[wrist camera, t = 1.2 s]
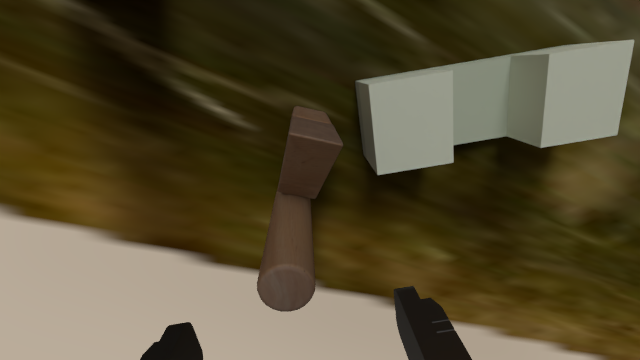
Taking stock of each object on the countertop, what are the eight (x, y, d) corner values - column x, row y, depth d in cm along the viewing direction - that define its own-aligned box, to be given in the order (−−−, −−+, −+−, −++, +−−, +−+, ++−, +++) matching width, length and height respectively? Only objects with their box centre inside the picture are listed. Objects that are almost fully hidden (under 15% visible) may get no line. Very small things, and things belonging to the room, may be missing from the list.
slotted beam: (355, 80, 32) (368, 84, 25) (566, 45, 32) (634, 39, 25) (363, 154, 35) (377, 175, 28) (557, 122, 35) (617, 135, 28)
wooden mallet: (327, 112, 33) (353, 160, 16) (306, 202, 36) (309, 320, 20) (293, 104, 32) (283, 145, 16) (275, 196, 36) (251, 312, 19)
